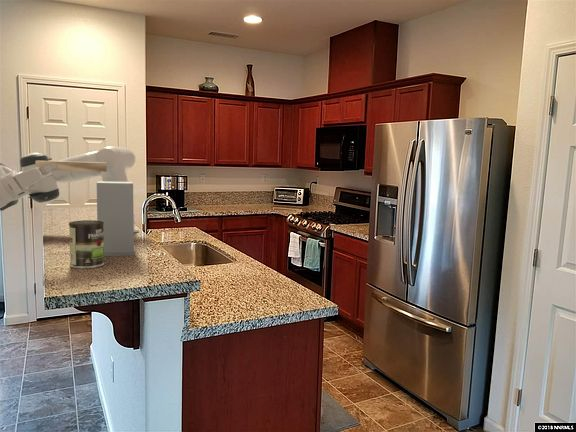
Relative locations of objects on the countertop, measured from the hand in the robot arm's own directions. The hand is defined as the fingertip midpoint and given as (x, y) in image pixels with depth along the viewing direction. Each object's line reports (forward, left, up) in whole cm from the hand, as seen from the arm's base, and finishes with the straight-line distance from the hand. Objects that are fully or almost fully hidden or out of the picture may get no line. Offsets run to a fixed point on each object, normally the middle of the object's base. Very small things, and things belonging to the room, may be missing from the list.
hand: (57, 164), depth 153 cm
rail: (0, +5, -2) cm, 5 cm away
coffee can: (+16, +10, -32) cm, 37 cm away
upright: (0, +19, -32) cm, 37 cm away
